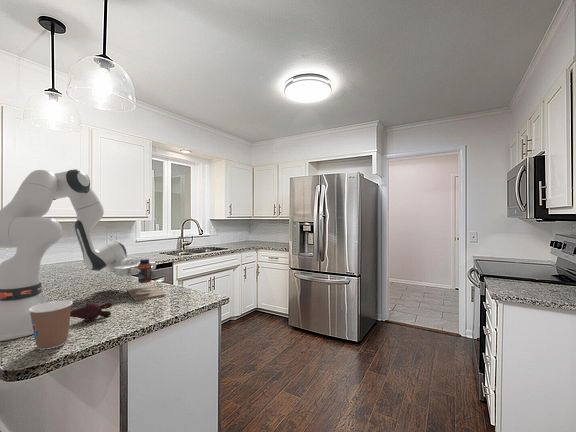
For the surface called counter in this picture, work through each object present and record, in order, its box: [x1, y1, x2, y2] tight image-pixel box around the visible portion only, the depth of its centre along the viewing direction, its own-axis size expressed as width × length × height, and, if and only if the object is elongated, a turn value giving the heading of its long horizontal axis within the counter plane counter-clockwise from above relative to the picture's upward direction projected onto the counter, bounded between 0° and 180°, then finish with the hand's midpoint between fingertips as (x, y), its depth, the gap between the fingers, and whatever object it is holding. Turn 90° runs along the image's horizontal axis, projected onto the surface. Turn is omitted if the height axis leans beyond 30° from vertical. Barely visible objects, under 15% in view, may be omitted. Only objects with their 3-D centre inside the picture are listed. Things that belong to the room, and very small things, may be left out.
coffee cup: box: [29, 299, 74, 351], centre depth 86 cm, size 10×10×12 cm
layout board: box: [126, 284, 166, 302], centre depth 141 cm, size 22×13×1 cm, turn 38°
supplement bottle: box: [137, 258, 153, 284], centre depth 141 cm, size 6×6×11 cm
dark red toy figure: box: [70, 301, 113, 322], centre depth 106 cm, size 7×7×15 cm
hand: (146, 269), depth 141 cm, fingers closed on supplement bottle, 6 cm apart
